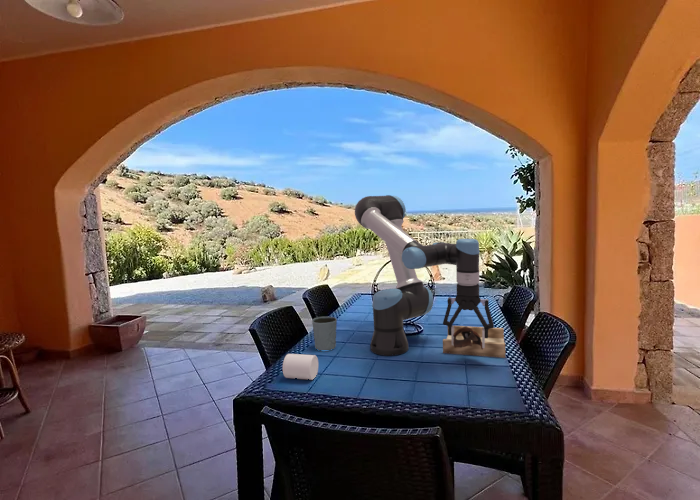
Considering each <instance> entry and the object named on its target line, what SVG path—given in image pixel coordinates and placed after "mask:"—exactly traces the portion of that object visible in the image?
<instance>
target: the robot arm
mask: <svg viewBox="0 0 700 500" xmlns="http://www.w3.org/2000/svg"><path fill="white" fill-rule="evenodd" d="M406 212H407V211H406V206H405V203H404V201H403V199H401V198H400V197H398V196H397V195H390V194H386V195H373V196H372V195H368V196H365V197H362V198H361V199H359V200H358V202H357V203H356V205H355V207H354V216H355V219H356V221H357V223H358V224H359V225H360V226H361V227H362V228H364V229H367V230H370V231H371V232H373V233H374V234H375V235H376V236H378V238H380V239H381V240H382V241H384V243H385V245H386V248H387V252H388V255H389V259H390V261H391V266H392V269H393V273H394V276H395V279H396V283H397V285H396V287H395V288H389V289H388V288H386V289H385V288H384V289H382V290H379V291H376V292H375V293H374V294H373V297H372V305H371V306H372V312H373V313H372V315H373V333H372V335H371V336H372V338H371V339H370V351H371V352H372V353H374V354H376V355H379V356H387V357H388V356H389V357H390V356H398V355H402V354H405V353H407V352H408V350H409V349H410V348H409V341H408V339H407V338H408V337H407V336H406V333H405V330H404V321H406V320H410V319H413V318H417V317H422V316H425V315H427V314H429V313H430V311H432V308H433V306H434V295H433V292H432V291H431V289H430V288H428V287H427V286H424V283H423V281H422V280H421V279H419V278H418V276H417V273H416V270H419V269H420V270H421V269H423V268H429V267H433V266H440V265H454V266H455V267H456V271H455V272H456V282H457V284H456V296H455V297H451V296H449V297H447V306H446V311H445V315H444V318H443V321H442V325H443V326H447V335H448V334H449V335H451V337H452V345H454V344H453V341H454V336H453V335H454V326H455V324H454V323H455V321H456V319H457V318H458V316H459V314H460V313H461V312H462V311H473V312H474V313H475V315H476V317H477V318H478V320H479V322H480V323H481V325H482V326H481V327H482V348H485V338H488V329H490V328H495V324H494V321H493V317H492V314H491V310H490V306H489V305H490V304H489V303H490V300H489V298H481V297H480V284H479V283H480V244H479V240H478V239H475V238H459V239H457V240H456V242H455V243H449V242H443V241H441V242H433V243H432V244H427V245H423V244H421V243H420V242H419V241H417V240H416V239H415V238H413V237H412V236H411V235H409V234H408V233H407V232H406V231H404V230H403V227H402V226H403V223H404V221H405V220H404V218H405V216H406ZM455 302H456V304H457V305H458V307H457V308H456V310H455V312H454V314H453V315H452V317H451V318H450V319H449V317H450V313H451V308H452V305H454V303H455ZM480 303H481V305H482V306H484V312H485V314H486V317H487V320H488V321H486V320H485V317H484V316H483V314H482V313H481V311H480V309H479V307H478V306H479V305H480ZM487 322H488V323H487Z"/></svg>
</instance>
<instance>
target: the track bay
mask: <svg viewBox="0 0 700 500" xmlns="http://www.w3.org/2000/svg"><path fill="white" fill-rule="evenodd" d="M465 326H467V327H469V328H471V329H472V330H473V331H475V332H477V334H478V335H479V337H480V339H481V342H482V327H483V326H471V325H470V326H468V325H454V333H455V332H456V331H457V330H458V329H460V328H463V327H465ZM504 330H505V328H504V327H494V328H490V329H488V338H485V348H483V350H482V349H481V346H480V345H478V344H473V341H472V340H471V344H472V346H466V347H456V348H455V347H454V345H452V337H451V335H449V334H448V333H447V337H446V338H443V339H442V353H443V354H449V355H450V354H451V355H452V354H453V355H463V356H477V357H486V358H487V357H489V358H501V359H502V358H503V359H504V358H505V359H506V342H505V336H504V335H505V333H504V332H505V331H504ZM470 333H471V332H470ZM456 339H457V340H463V339H464V338H463V336H462V334H461V333H459V334H458V335H457V336H456Z"/></svg>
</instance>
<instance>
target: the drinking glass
mask: <svg viewBox="0 0 700 500" xmlns="http://www.w3.org/2000/svg"><path fill="white" fill-rule="evenodd" d="M337 320H338V319H337V317H335V316H328V315H327V316H317V317H314V318H313V319H312V320H311V325H312V331H313V339H314V348H316V349H318V350H331V349H334V348H335V347H336V348H337V324H338V323H337V322H338V321H337ZM336 348H335V349H336ZM316 349H315V350H316ZM335 349H334V350H335ZM331 351H332V350H331Z"/></svg>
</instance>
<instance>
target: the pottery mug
mask: <svg viewBox="0 0 700 500" xmlns="http://www.w3.org/2000/svg"><path fill="white" fill-rule="evenodd" d="M464 326H465V327H463V328H460V329H458V330H457V331H456V332H455V333H454V335H453V336H454V341H453V344H454V347H455V348H456V347H466V346H472V344H471V340H472V341H473V344H478V345H480V346H481V349H482V350H483V348H482V342H481V339H480V337H479V335H478V334H477V332H475V331H473V330H472V329H471V328H469V327H467V326H468V325H464ZM470 332H471V333H470ZM459 333H461V334H462V336H463V338H464V339H463V340H457V339H456V336H457V335H458V334H459Z"/></svg>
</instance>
